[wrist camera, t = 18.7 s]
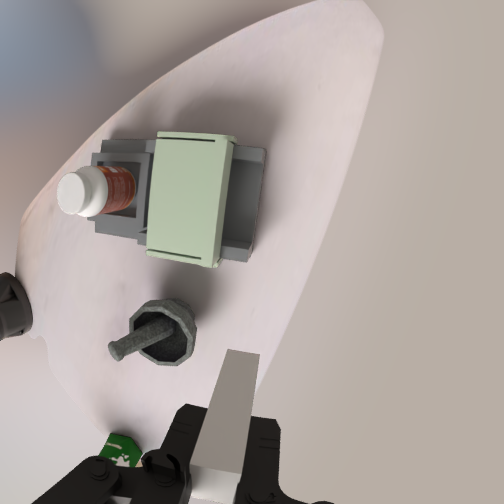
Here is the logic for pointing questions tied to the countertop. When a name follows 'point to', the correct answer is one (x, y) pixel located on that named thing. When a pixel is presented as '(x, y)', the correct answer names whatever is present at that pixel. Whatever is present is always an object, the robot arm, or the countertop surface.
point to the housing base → (140, 165)
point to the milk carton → (121, 451)
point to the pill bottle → (96, 190)
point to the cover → (189, 196)
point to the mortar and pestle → (159, 333)
